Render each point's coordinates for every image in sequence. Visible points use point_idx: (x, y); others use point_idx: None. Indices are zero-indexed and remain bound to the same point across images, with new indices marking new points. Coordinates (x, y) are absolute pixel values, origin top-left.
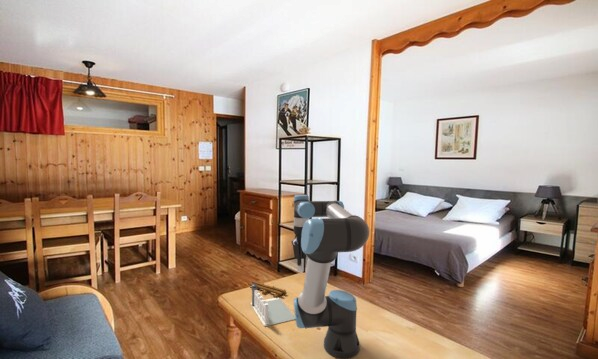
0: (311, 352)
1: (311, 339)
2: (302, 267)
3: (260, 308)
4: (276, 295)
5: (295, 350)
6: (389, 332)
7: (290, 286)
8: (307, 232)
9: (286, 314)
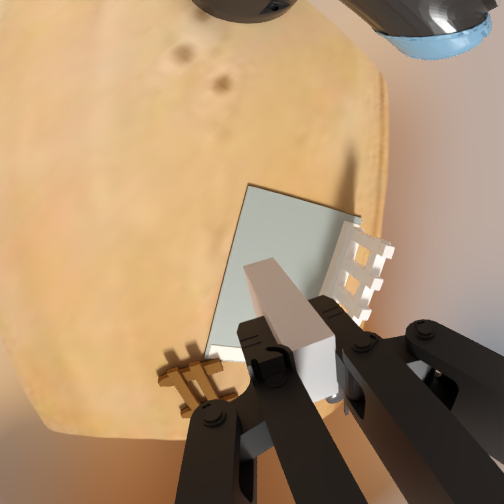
0: (331, 25)
1: (291, 58)
2: (279, 280)
3: (347, 290)
4: (213, 364)
5: (360, 62)
6: None
7: (120, 396)
8: None
9: (261, 235)
